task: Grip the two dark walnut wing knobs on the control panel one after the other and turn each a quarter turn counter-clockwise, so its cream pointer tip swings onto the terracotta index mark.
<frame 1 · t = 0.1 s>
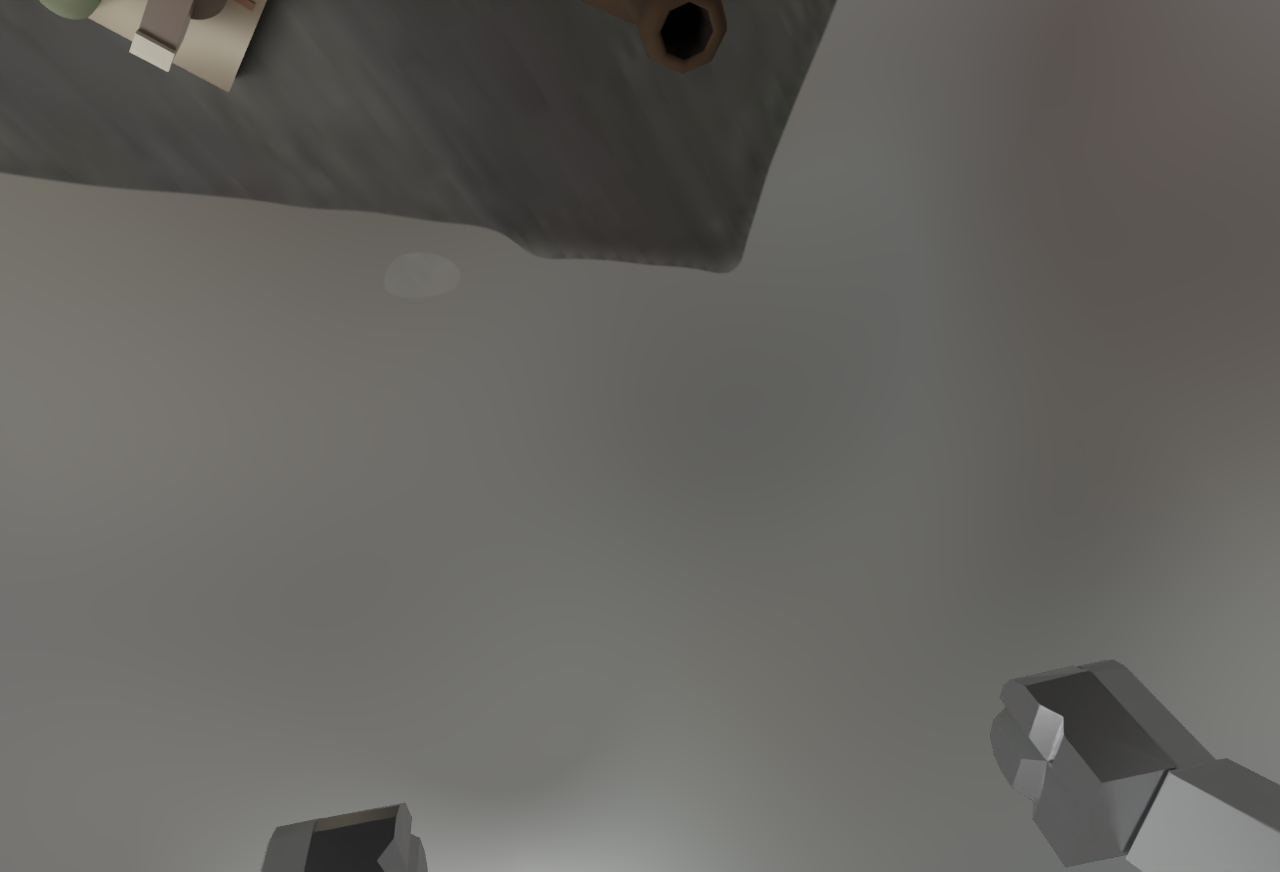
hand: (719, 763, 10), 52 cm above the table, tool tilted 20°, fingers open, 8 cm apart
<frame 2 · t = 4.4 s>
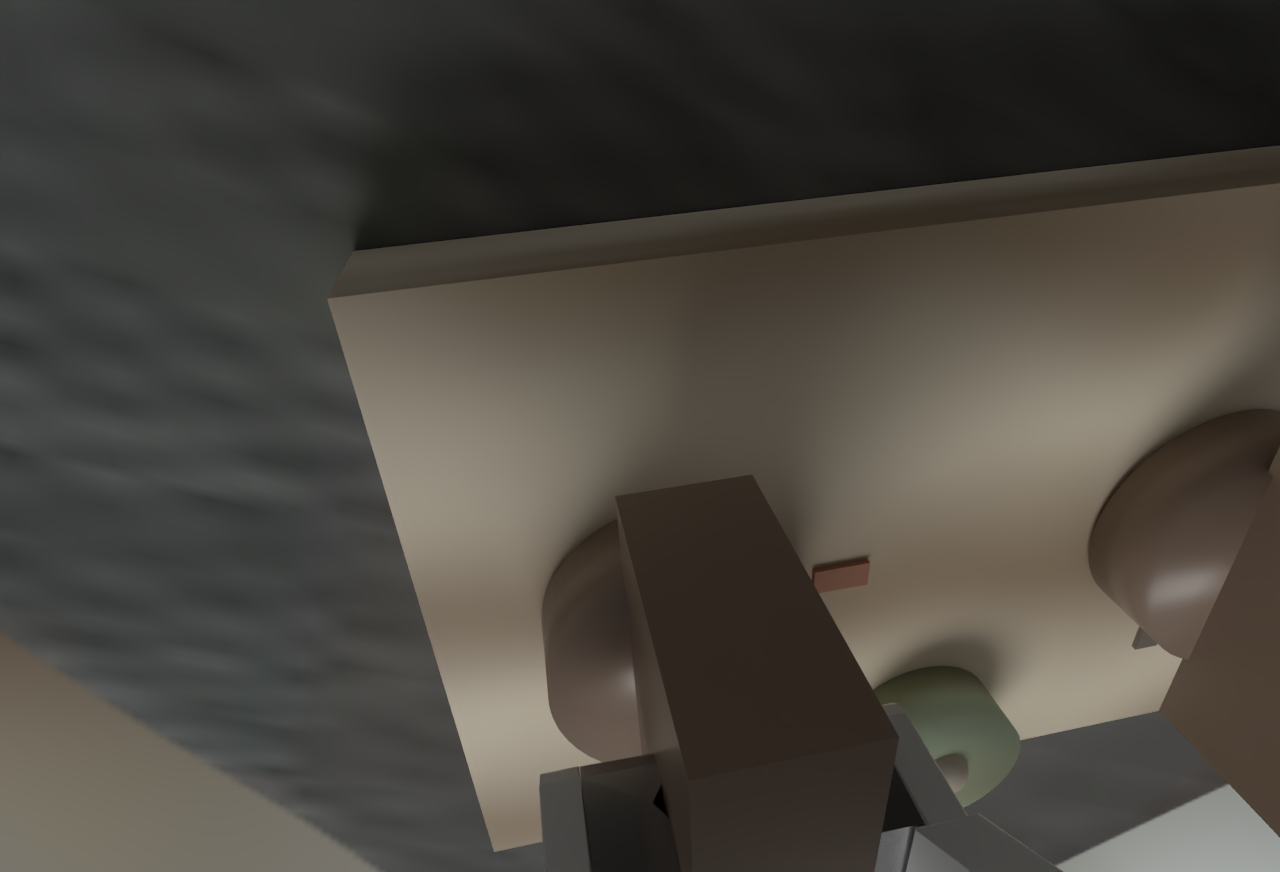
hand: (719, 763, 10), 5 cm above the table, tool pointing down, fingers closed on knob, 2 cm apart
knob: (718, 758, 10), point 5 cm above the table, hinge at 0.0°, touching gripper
control panel: (893, 491, 15), on the table
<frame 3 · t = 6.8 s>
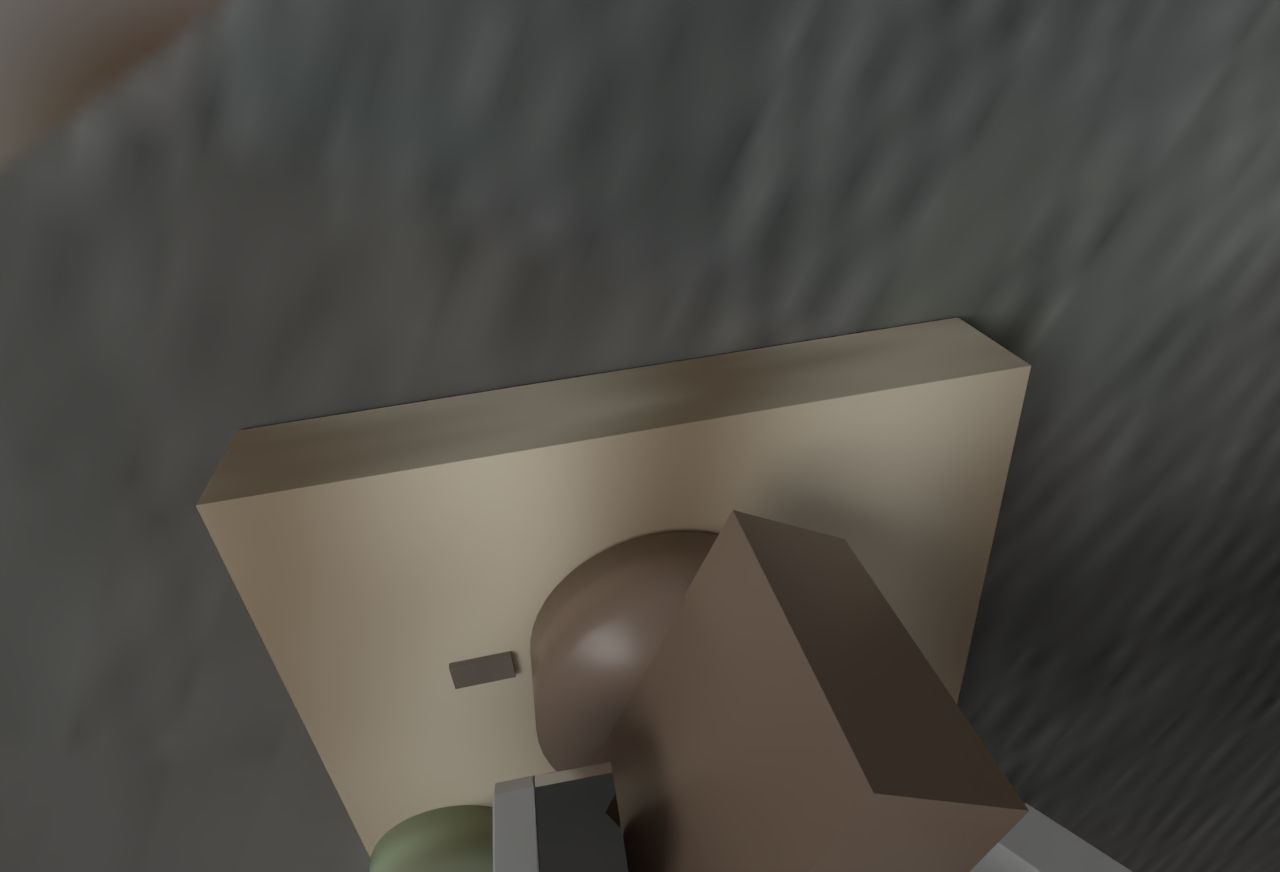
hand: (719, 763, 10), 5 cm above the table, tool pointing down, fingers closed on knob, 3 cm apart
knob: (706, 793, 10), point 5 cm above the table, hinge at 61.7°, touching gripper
control panel: (656, 723, 17), on the table
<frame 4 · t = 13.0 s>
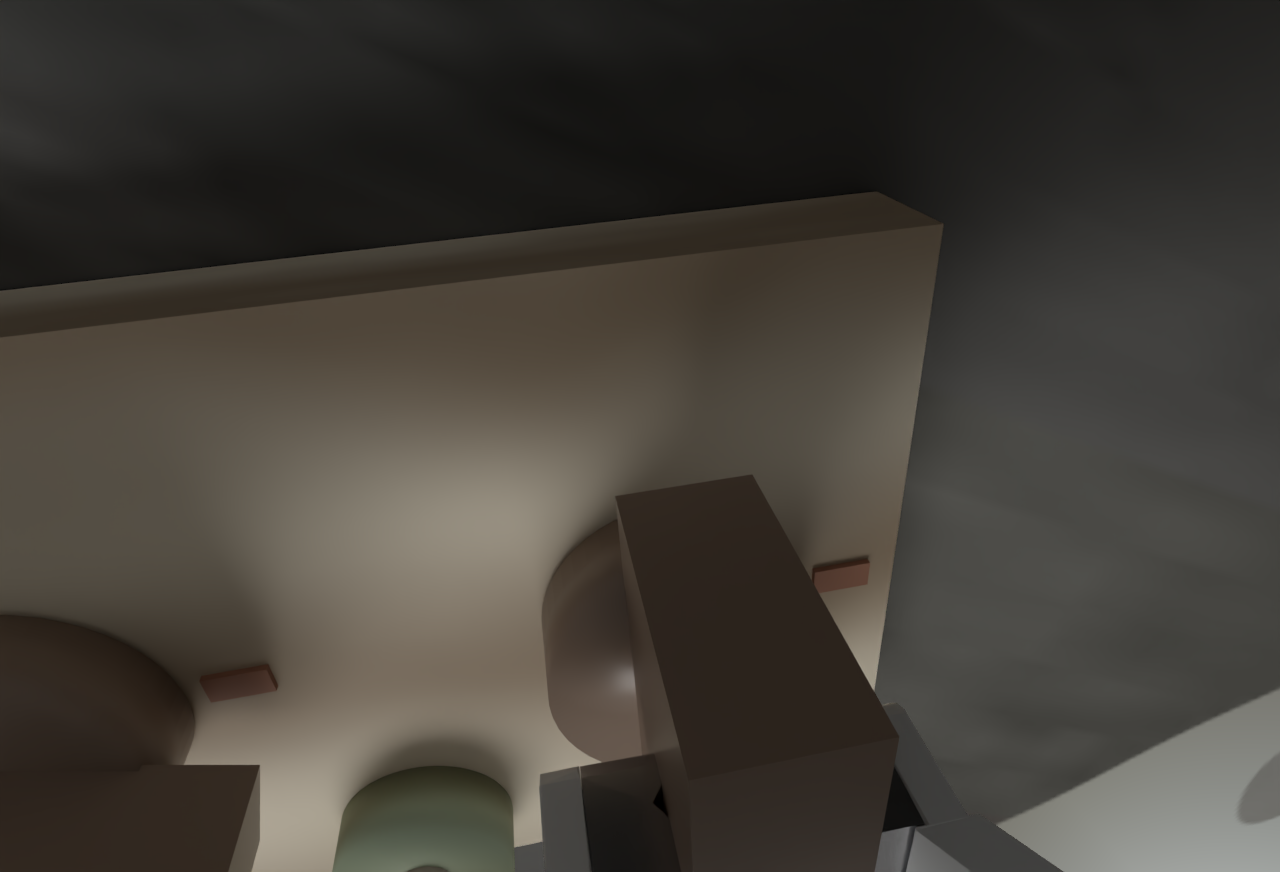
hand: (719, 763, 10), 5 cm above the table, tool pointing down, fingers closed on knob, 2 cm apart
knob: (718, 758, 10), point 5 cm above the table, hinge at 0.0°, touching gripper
control panel: (384, 575, 14), on the table
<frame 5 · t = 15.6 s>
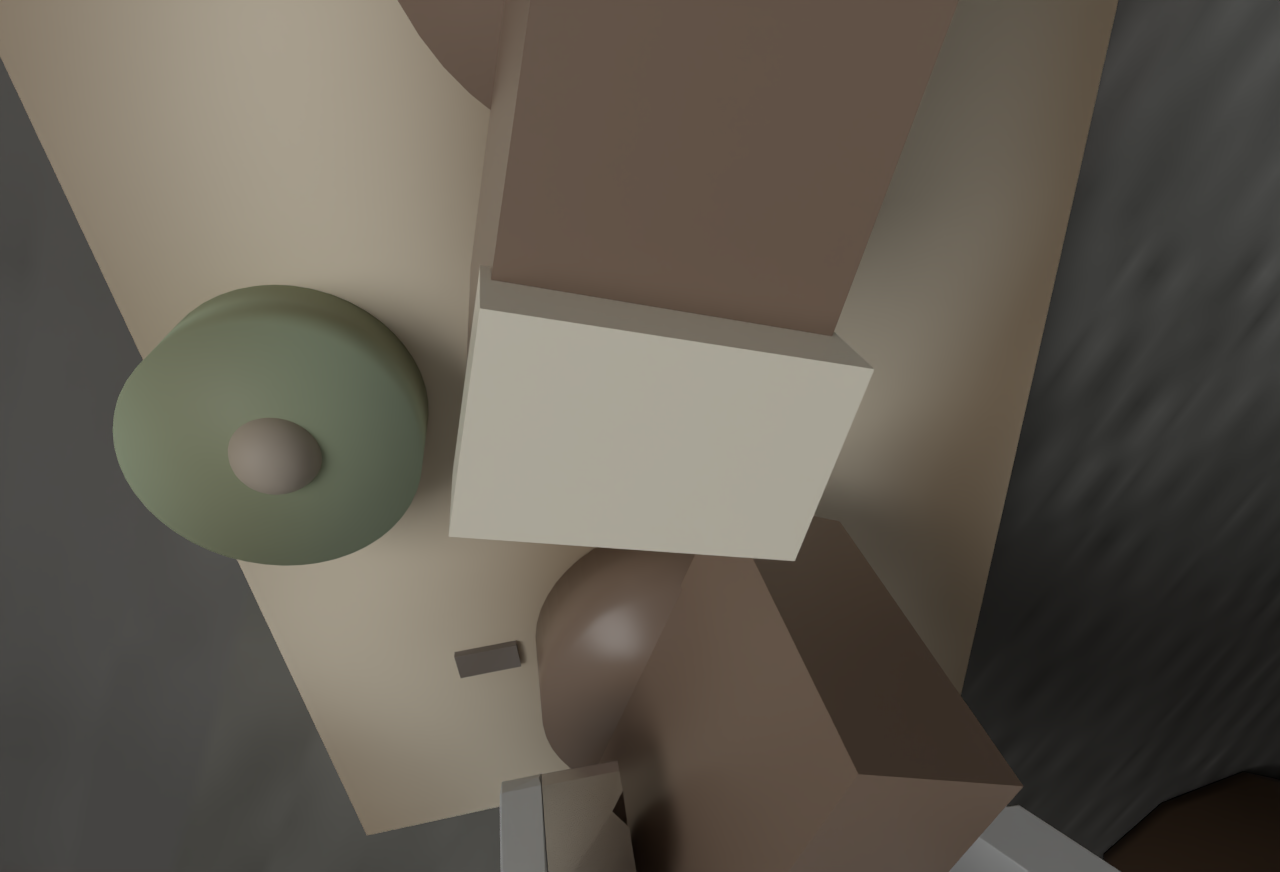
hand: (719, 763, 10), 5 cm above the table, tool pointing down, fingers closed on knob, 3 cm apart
beer bottle: (1189, 833, 25), on the table
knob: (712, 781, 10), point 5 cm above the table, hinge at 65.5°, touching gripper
control panel: (620, 303, 12), on the table
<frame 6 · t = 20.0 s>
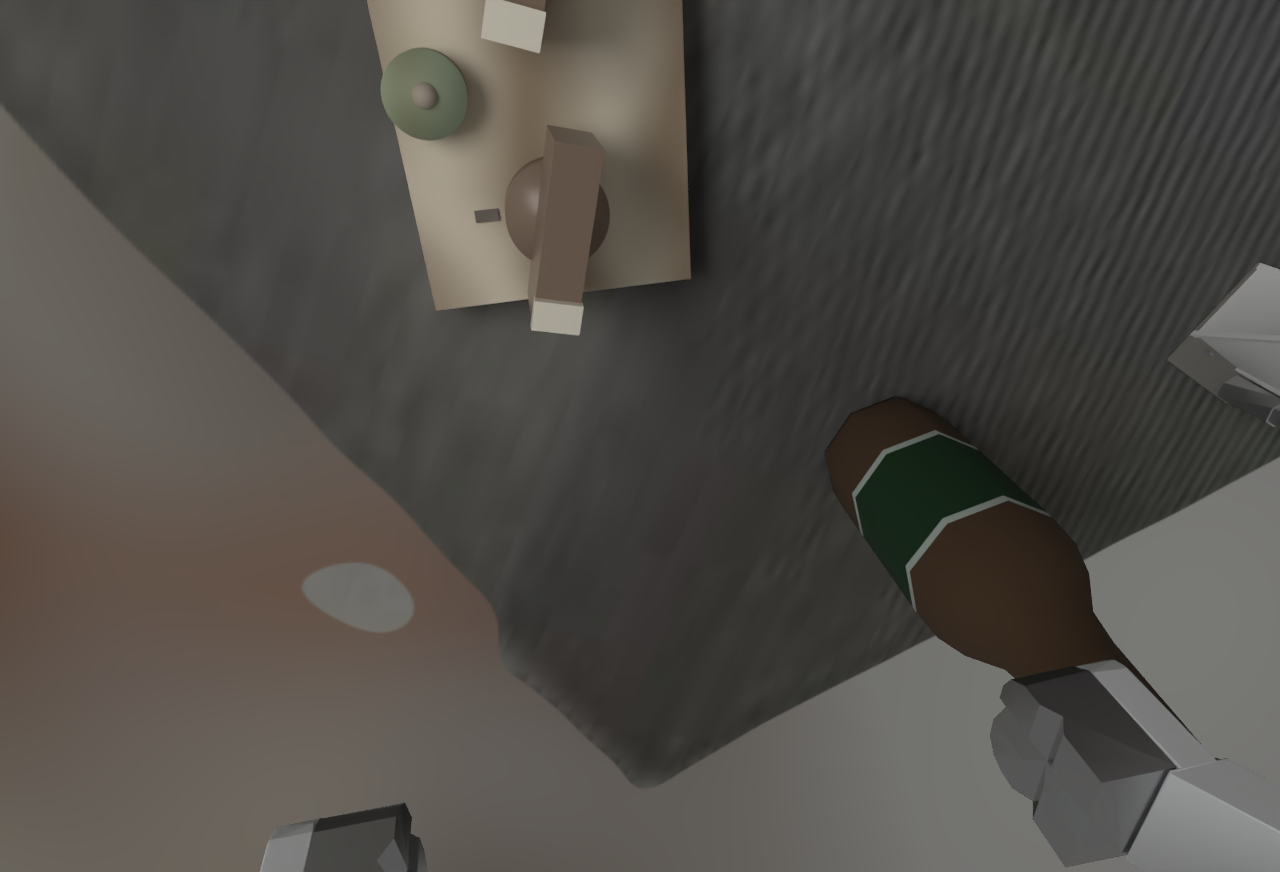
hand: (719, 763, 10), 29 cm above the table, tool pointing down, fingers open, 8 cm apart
beer bottle: (878, 447, 45), on the table
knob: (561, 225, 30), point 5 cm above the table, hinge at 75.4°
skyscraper: (1235, 321, 45), on the table
control panel: (537, 78, 31), on the table
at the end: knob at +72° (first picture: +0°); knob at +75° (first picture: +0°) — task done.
